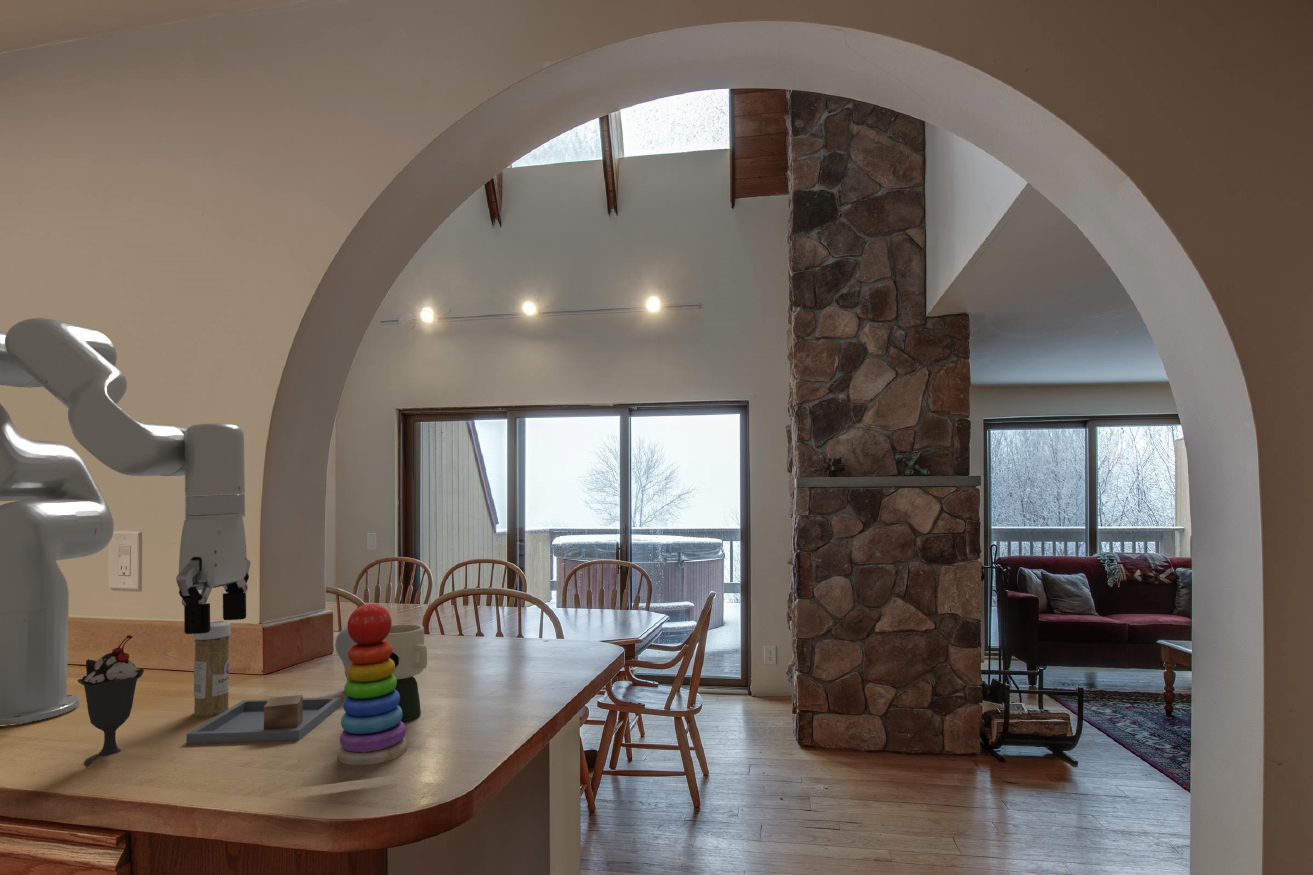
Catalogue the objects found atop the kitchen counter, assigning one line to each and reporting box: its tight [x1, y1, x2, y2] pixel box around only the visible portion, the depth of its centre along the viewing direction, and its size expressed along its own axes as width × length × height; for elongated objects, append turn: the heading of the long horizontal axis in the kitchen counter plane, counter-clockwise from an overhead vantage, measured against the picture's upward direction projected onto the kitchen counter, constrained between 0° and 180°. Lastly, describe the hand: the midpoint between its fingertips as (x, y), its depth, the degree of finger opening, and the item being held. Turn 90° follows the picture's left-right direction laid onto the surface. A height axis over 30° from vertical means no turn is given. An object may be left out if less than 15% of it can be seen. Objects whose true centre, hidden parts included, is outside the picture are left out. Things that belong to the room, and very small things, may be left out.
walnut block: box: [264, 694, 304, 729], centre depth 97 cm, size 4×4×4 cm
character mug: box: [383, 623, 428, 724], centre depth 102 cm, size 11×7×13 cm, turn 62°
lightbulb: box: [334, 625, 357, 682], centre depth 116 cm, size 6×6×11 cm
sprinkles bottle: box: [193, 620, 231, 718], centre depth 106 cm, size 5×5×13 cm
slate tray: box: [185, 696, 342, 745], centre depth 100 cm, size 14×14×2 cm
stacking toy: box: [337, 603, 408, 766], centre depth 89 cm, size 8×8×19 cm
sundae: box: [77, 634, 145, 767], centre depth 91 cm, size 7×7×15 cm
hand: (216, 625), depth 106 cm, fingers open, 9 cm apart
